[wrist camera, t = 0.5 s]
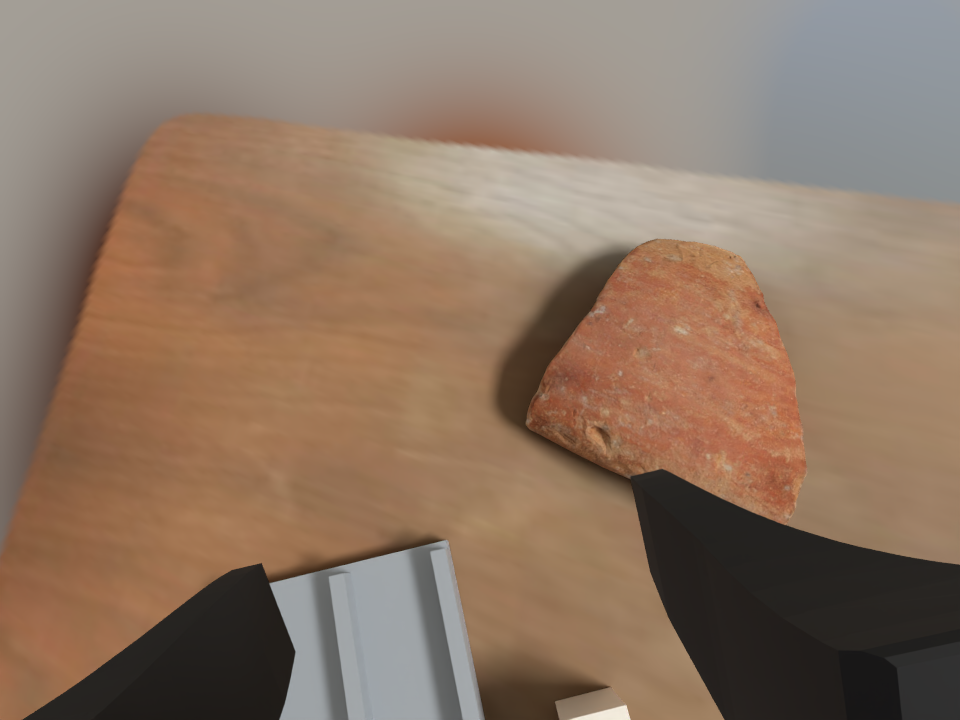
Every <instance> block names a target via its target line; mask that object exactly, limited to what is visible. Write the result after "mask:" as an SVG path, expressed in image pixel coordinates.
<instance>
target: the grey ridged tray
mask: <svg viewBox="0 0 960 720" xmlns="http://www.w3.org/2000/svg"><path fill="white" fill-rule="evenodd" d="M269 584H270V586H271V589H272V592H273V594H274V597H275V599H276V602H277V605H278V607H279V610H280V612H281V615H282V617H283V620H284V623H285V625H286V628H287V630H288V633H289V636H290V638H291V641H292V643H293V646H294V649H295V651H296V653H295V658H294V664H293V669H292V674H291V679H290V684H289V688H288V692H287V697H286V701H285V705H284V708H283V711H282V714H281V717H280V720H485V717H484V712H483V707H482V702H481V697H480V692H479V688H478V683H477V678H476V673H475V668H474V663H473V658H472V654H471V649H470V644H469V639H468V634H467V629H466V624H465V620H464V615H463V610H462V605H461V600H460V595H459V590H458V586H457V581H456V576H455V571H454V566H453V561H452V556H451V552H450V547H449V542H448V541H447V540H444V541H440V542H436V543H432V544H428V545H424V546H420V547H416V548H412V549H408V550H404V551H400V552H395V553H391V554H387V555H383V556H379V557H375V558H371V559H367V560H363V561H359V562H355V563H351V564H347V565H342V566H338V567H334V568H330V569H326V570H322V571H318V572H314V573H310V574H306V575H302V576H298V577H294V578H289V579H285V580H281V581H277V582H273V583H269Z"/></svg>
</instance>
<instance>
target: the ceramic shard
mask: <svg viewBox="0 0 960 720" xmlns="http://www.w3.org/2000/svg"><path fill="white" fill-rule="evenodd" d="M526 426H527V427H528V428H529V429H530V430H532V431H534V432H536V433H538V434H540V435H541V436H543V437H545V438H547V439H549V440H551V441H553V442H555V443H556V444H558V445H560V446H562V447H564V448H566V449H568V450H570V451H572V452H574V453H575V454H577V455H579V456H581V457H583V458H585V459H587V460H589V461H592V462H594V463H596V464H598V465H600V466H601V467H603V468H606V469H608V470H610V471H613V472H615V473H617V474H619V475H622V476H624V477H626V478H629V479H631V478H630V476H634V475H638V474H642V473H647V472H651V471H655V470H659V469H664V470H666V471H669V472H671V473H673V474H675V475H677V476H678V477H680V478H682V479H684V480H686V481H688V482H690V483H692V484H694V485H696V486H698V487H700V488H702V489H704V490H706V491H708V492H710V493H712V494H714V495H716V496H718V497H720V498H722V499H724V500H726V501H728V502H730V503H733V504H735V505H737V506H739V507H742V508H744V509H746V510H748V511H751V512H753V513H756V514H758V515H761V516H763V517H766V518H768V519H771V520H773V521H776V522H778V523H781V524H784V525H787V523H788V521H789V519H790V518H791V516H792V514H793V512H794V510H795V508H796V499H797V496H798V494H799V491H800V488H801V485H802V483H803V480H804V477H805V476H806V475H807V466H806V461H805V449H804V444H803V427H802V424H801V420H800V416H799V411H798V403H797V399H796V382H795V377H794V373H793V369H792V367H791V364H790V361H789V358H788V355H787V352H786V350H785V347H784V345H783V343H782V340H781V338H780V335H779V331H778V328H777V324H776V321H775V320H774V318H773V317H772V315H771V314H770V313H769V311H768V309H767V307H766V305H765V303H764V297H763V293H762V292H761V290H760V289H759V286H758V284H757V282H756V280H755V278H754V276H753V274H752V273H751V271H750V270H749V268H748V267H747V266H746V264H745V262H744V260H743V259H742V258H741V256H739V255H736V254H734V253H732V252H730V251H727V250H724V249H720V248H718V247H716V246H712V245H707V244H702V243H697V242H685V241H679V240H672V239H670V240H666V239H655V240H651V241H648V242H646V243H644V244H641V245H639V246H638V247H636V248H635V249H634V250H632V251H631V252H630V253H629V254H628V255H627V256H626V257H625V258H624V259H623V260H622V261H621V263H620V264H619V265H618V266H617V268H616V270H615V271H614V272H613V274H612V276H611V277H610V278H609V279H608V280H607V282H606V284H605V286H604V288H603V290H602V291H601V292H600V294H599V295H598V297H597V300H596V302H595V304H594V306H593V307H592V309H591V311H590V312H589V313H588V314H587V315H586V316H585V317H584V318H583V320H582V321H581V322H580V323H579V325H578V326H577V328H576V329H575V331H574V332H573V333H572V335H571V336H570V337H569V338H568V340H567V341H566V342H565V344H564V345H563V347H562V348H561V350H560V351H559V352H558V353H557V354H556V356H555V357H554V358H553V359H552V360H551V362H550V363H549V365H548V366H547V368H546V371H545V373H544V375H543V378H542V380H541V382H540V385H539V388H538V391H537V393H536V394H535V395H534V397H533V398H532V400H531V402H530V405H529V408H528V412H527V420H526Z"/></svg>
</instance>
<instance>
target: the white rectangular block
mask: <svg viewBox="0 0 960 720" xmlns="http://www.w3.org/2000/svg"><path fill="white" fill-rule="evenodd" d="M555 704H556V709H557V713H558V717H559V720H630V717H629V713H628V710H627V706H626V704H625V703H624V702H623V701H622V699H621V698H620V697H619V696H618V695H617V693H616V692H615V691H614V690H613V689H612V687H609V688H605V689H601V690H597V691H594V692H590V693H586V694H582V695H578V696H574V697H570V698H566V699H562V700H558V701H555Z"/></svg>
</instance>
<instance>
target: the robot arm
mask: <svg viewBox="0 0 960 720" xmlns="http://www.w3.org/2000/svg"><path fill="white" fill-rule="evenodd" d="M630 478H631V483H632V488H633V493H634V497H635V502H636V507H637V512H638V516H639V521H640V526H641V531H642V535H643V540H644V545H645V549H646V554H647V559H648V564H649V568H650V572H651V575H652V577H653V580H654V582H655V585H656V588H657V590H658V593H659V595H660V598H661V600H662V603H663V605H664V608H665V610H666V612H667V615H668V617H669V619H670V621H671V623H672V625H673V627H674V629H675V631H676V632H677V634H678V636H679V638H680V640H681V642H682V643H683V645H684V647H685V649H686V651H687V653H688V654H689V656H690V658H691V660H692V662H693V663H694V665H695V667H696V669H697V671H698V672H699V674H700V676H701V678H702V680H703V681H704V683H705V685H706V687H707V689H708V691H709V692H710V694H711V696H712V698H713V700H714V701H715V703H716V705H717V707H718V709H719V710H720V712H721V714H722V716H723V718H724V719H725V720H960V565H957V564H950V563H942V562H935V561H929V560H923V559H917V558H911V557H905V556H900V555H895V554H890V553H886V552H881V551H876V550H872V549H867V548H862V547H858V546H854V545H850V544H846V543H842V542H838V541H834V540H831V539H828V538H824V537H821V536H818V535H814V534H811V533H808V532H805V531H801V530H798V529H795V528H792V527H789V526H787V525H784V524H781V523H778V522H776V521H773V520H771V519H768V518H766V517H763V516H761V515H758V514H756V513H753V512H751V511H748V510H746V509H744V508H742V507H739V506H737V505H735V504H733V503H730V502H728V501H726V500H724V499H722V498H720V497H718V496H716V495H714V494H712V493H710V492H708V491H706V490H704V489H702V488H700V487H698V486H696V485H694V484H692V483H690V482H688V481H686V480H684V479H682V478H680V477H678V476H677V475H675V474H673V473H671V472H669V471H666V470H664V469H659V470H655V471H651V472H647V473H642V474H638V475H634V476H630ZM295 653H296V651H295V649H294V646H293V643H292V641H291V638H290V636H289V633H288V630H287V628H286V625H285V623H284V620H283V617H282V615H281V612H280V610H279V607H278V605H277V602H276V599H275V597H274V594H273V592H272V589H271V586H270V584H269V581H268V579H267V576H266V573H265V571H264V568H263V566H262V563H261V564H256V565H252V566H248V567H244V568H239V569H235V570H231V571H230V572H228V573H226V574H224V575H223V576H221V577H220V578H218V579H217V580H215V581H214V582H212V583H211V584H209V585H208V586H207V587H205V588H204V589H202V590H201V591H200V592H198V593H197V594H196V595H194V596H193V597H192V598H190V599H189V600H188V601H187V602H185V603H184V604H183V605H181V606H180V607H179V608H177V609H176V610H175V611H174V612H172V613H171V614H170V615H168V616H167V617H166V618H165V619H163V620H162V621H161V622H159V623H158V624H157V625H156V626H154V627H153V628H152V629H150V630H149V631H148V632H147V633H145V634H144V635H143V636H141V637H140V638H139V639H138V640H136V641H135V642H133V643H132V644H131V645H129V646H128V647H127V648H125V649H124V650H123V651H121V652H120V653H119V654H117V655H116V656H114V657H113V658H112V659H110V660H109V661H108V662H106V663H105V664H104V665H102V666H101V667H100V668H98V669H97V670H96V671H94V672H93V673H91V674H90V675H89V676H87V677H86V678H85V679H83V680H82V681H80V682H79V683H77V684H76V685H75V686H73V687H72V688H70V689H69V690H67V691H66V692H64V693H63V694H61V695H60V696H58V697H57V698H55V699H54V700H52V701H51V702H49V703H48V704H46V705H45V706H43V707H41V708H40V709H38V710H37V711H35V712H34V713H32V714H30V715H29V716H27V717H26V718H24V719H23V720H280V717H281V714H282V711H283V708H284V705H285V701H286V697H287V692H288V688H289V684H290V679H291V674H292V669H293V664H294V658H295Z"/></svg>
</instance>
